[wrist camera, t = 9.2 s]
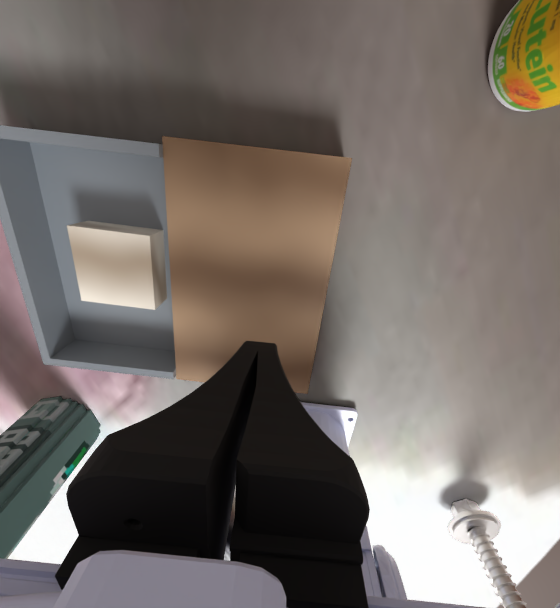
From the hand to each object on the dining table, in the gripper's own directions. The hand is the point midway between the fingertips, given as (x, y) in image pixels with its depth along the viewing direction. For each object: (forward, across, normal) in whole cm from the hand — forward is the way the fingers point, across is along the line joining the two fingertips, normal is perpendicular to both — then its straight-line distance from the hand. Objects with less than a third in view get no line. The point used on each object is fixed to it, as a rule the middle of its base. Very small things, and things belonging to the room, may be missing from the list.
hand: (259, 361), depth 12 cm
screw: (+10, -22, +23) cm, 33 cm away
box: (+9, +11, -1) cm, 14 cm away
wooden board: (+9, +2, -1) cm, 9 cm away
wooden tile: (+9, +10, -1) cm, 14 cm away
